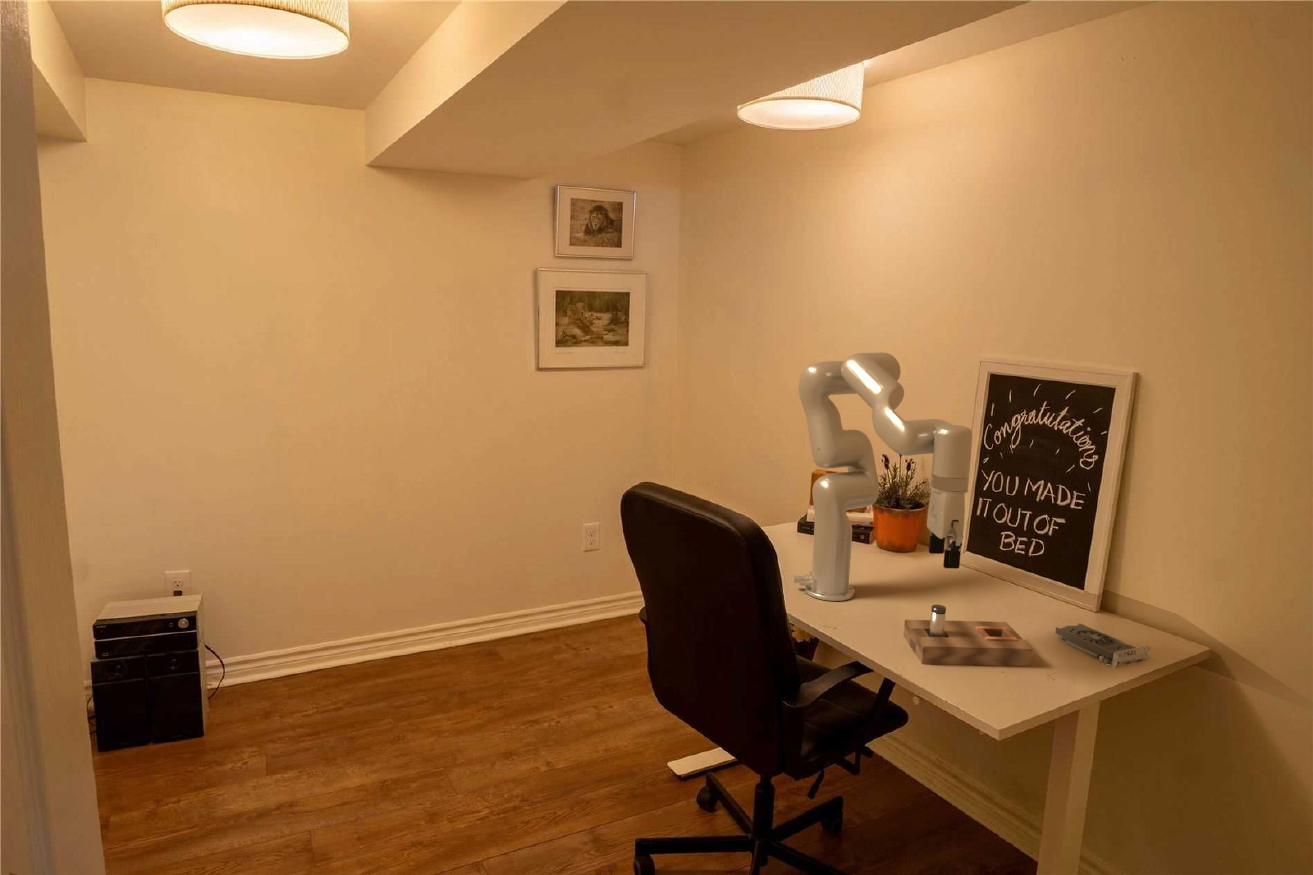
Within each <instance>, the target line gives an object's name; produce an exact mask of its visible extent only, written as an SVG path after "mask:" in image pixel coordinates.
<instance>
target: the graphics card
mask: <svg viewBox="0 0 1313 875" xmlns="http://www.w3.org/2000/svg"><path fill="white" fill-rule="evenodd" d="M1055 634H1056V635H1058V636H1060V637H1061V638H1062V639H1063V640H1065V643H1067V644H1069V645H1071V646H1073V647H1075V648H1077V649H1079V650H1081V651H1083V652H1085V653H1088V654H1089V655H1088V657H1089V658H1092V659H1094V660H1096V659H1099V660H1098V662H1100V663H1102V664H1104V665H1106V664H1111V665H1112V666H1110V665H1107V666H1108V667H1112V668H1114V669H1117V666H1120V665H1125V666H1127V665H1128V664H1129V665H1131V663H1132V662H1133V663H1140V662H1143V661H1144V660H1145V659H1149V658H1150V656H1151V654H1150V653H1149V652H1151V650H1152V648H1151V647H1152V646H1149V645H1144V646H1143V645H1142V646H1137V647H1136V646H1133V645H1131V644H1130V643H1129V644H1128V643H1126V642H1124V641H1122V640H1119V639H1117V638H1115V637H1112V636H1110V635H1108V634H1106V633H1103V632H1101V631H1099V630H1096V629H1094V628H1091V627H1090V626H1087V625H1085V624H1082V623H1077V625H1066V626H1063V627H1061V628H1060V627H1055ZM1091 655H1092V656H1091ZM1096 661H1097V660H1096ZM1119 664H1120V665H1119ZM1129 665H1128V666H1129Z"/></svg>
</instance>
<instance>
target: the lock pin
mask: <svg viewBox="0 0 1313 875" xmlns="http://www.w3.org/2000/svg"><path fill="white" fill-rule="evenodd" d="M930 608H931V610H930V611H931V612H930V618H929V620H930V631H929V637H944V626H945V621H946V612H947V607H946V606H944V605H941V604H933V605H931V607H930Z"/></svg>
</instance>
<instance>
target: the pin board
mask: <svg viewBox="0 0 1313 875" xmlns="http://www.w3.org/2000/svg"><path fill="white" fill-rule="evenodd" d="M903 627H904V628H903V637H904V639H905V640H906V642H907V643H908V645H909V647H910V648H911V650H912V651H913V653H914V654H915V655H916V658H917V659H918V660H919V661H920V663H921V665H949V666H951V665H952V666H953V665H956V666H960V665H961V666H989V667H992V666H993V667H995V666H996V667H998V666H1002V667H1029V668H1031V666H1032V659H1033V658H1032V657H1033V648H1032V647H1031V646H1030V645H1029V643H1027V642H1026V640H1024V638H1022V636H1020V634H1019V633H1018V632H1017V631H1016V630H1015V629H1013V627H1012V626H1011V625H1009V623H1008V622H1007V621H985V620H984V621H982V620H980V621H979V620H978V621H977V620H976V621H975V620H945V626H944V637H929V631H930V619H904V626H903Z"/></svg>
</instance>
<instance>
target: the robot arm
mask: <svg viewBox="0 0 1313 875" xmlns="http://www.w3.org/2000/svg"><path fill="white" fill-rule="evenodd" d="M901 370H902V369H901V366H900V362H899V361H898V360H897V359H896V357H895V356H893V355H892V354H890V353H888V352H881V351H880V352H859V353H858V352H857V353H854V354H852V355H849V356H847V358H845V360H829V361H827V360H826V361H819V362H814V363H811V364H809V365H808V366H806V367H804V369H803V370H802V372H801V373H800V377H799V380H798V386H797V387H798V395H799V399H800V404H801V406H802V408H803V411H804V414H805V417H806V424H807V429H808V430H807V431H808V437H809V441H810V442H809V443H810V449H811V455H812V459H813V462H814V463H815V465H816V467H819V468H821V469H838V468H847V472H846V471H845V472H844V471H843V472H835V473H827V474H825V475H822V476H820V477H818V478H817V479H816V480H815V482H814V483H813V486H812V488H811V489H812V491H811V492H812V495H811V496H812V500H813V509H814V510H813V511H814V527H813V546H812V547H813V548H812V563H811V564H812V565H811V571H809V572H808V574H805V576H803V575H793V577H792V578H793V579H792V581H793V582H792V583H793V584H799V586H801V587H803V586H804V592H805V593H806V594H807V595H809V596H810V597H813V598H815V599H818V600H823V601H829V602H831V601H832V602H840V601H842V602H843V601H848V600H850V599H852V598H853V597H854V596H855V592H856V591H855V589H854V587H853V586H851V585H850V574H851V573H850V571H851V570H850V569H851V559H852V557H851V556H852V542H853V541H852V539H853V526H852V522H851V520H850V518H849V516H848V514H847V511H850V510H855V509H862V508H867V507H871V506H873V505H874V504H875V503H876V502H877V501H878V498H879V493H880V488H879V487H880V485H879V479H878V473H877V466H876V460H875V454H874V449H873V445H872V442H871V440H870V438H869V437H868V436H867V435H866V433H864V432H863V431H861V430H858V429H844V428H843V425H842V419H841V414H840V411H839V409H838V407H837V406H836V404H835V403H834V401H832V399H830V398H829V396H831V395H832V396H833V395H835V396H836V395H838V396H839V395H854V394H857V395H858V396H859V397H860V399H862V400H863V401H864V402H865V403H866V404H867V406H869V408H870V409H871V410H872V411H871V419H872V420H871V421H872V425H873V429H874V431H875V434H876V435H877V436H878V438H880V439H881V441H882V442H884V443H885V445H886V446H887V447H888V448H889V449H891V451H893V452H895V453H896V454H898V455H901V456H904V457H905V456H908V457H909V456H915V455H916V456H918V455H928V454H932V463H931V464H932V466H931V479H930V480H931V482H930V490H931V492H930V497H929V502H928V503H929V504H928V511H927V518H926V527H927V529H928V530H929V541H928V542H929V543H928V553H929V554H934V555H935V554H937V555H943V554H944V555H943V568H944V569H959V568H960V563H961V552H962V547H963V539H964V528H965V513H966V512H965V509H966V508H965V507H966V504H965V503H966V502H965V501H966V500H965V498H966V494H967V493H968V492H969V482H970V470H971V469H970V468H971V458H972V447H973V445H972V444H973V431H972V429H971V428H970V427H968V426H965V425H960V424H958V425H957V424H952V423H949V422H948V421H945V420H944V419H939V418H929V419H912V420H906V419H903V417H901V416H900V415H899V414H898V413H897V412H896V409H897V408H898V407H899V406H900V404H901V403H902V401H903V400H904V396H905V389H904V387H903V386H902V384H901V383H900V382H898V381H899V380H900V378H901V377H900V376H901Z"/></svg>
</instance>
